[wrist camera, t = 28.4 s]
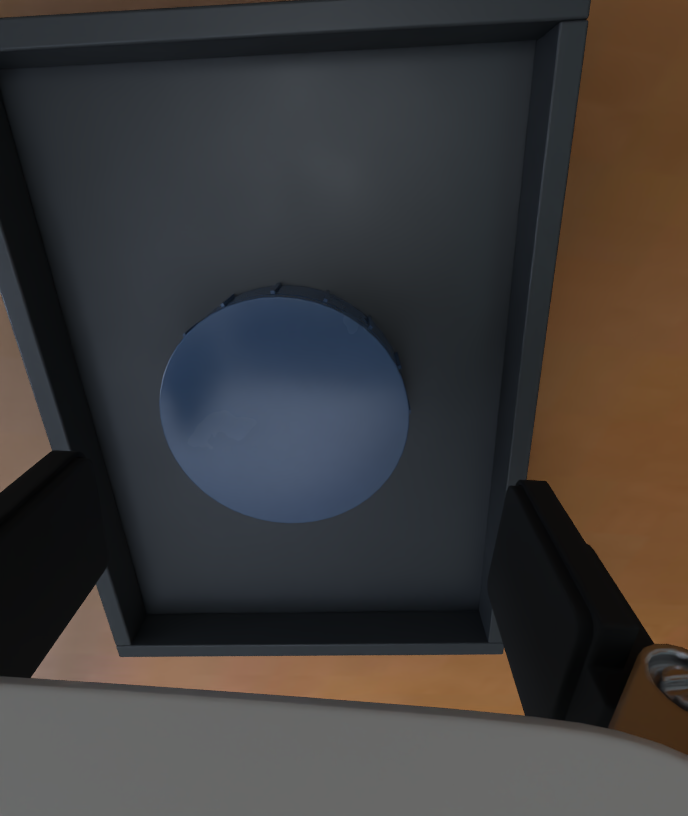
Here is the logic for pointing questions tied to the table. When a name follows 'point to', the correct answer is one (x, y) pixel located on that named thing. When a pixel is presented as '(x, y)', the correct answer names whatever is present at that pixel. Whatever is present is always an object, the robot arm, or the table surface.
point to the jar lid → (285, 405)
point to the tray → (291, 265)
